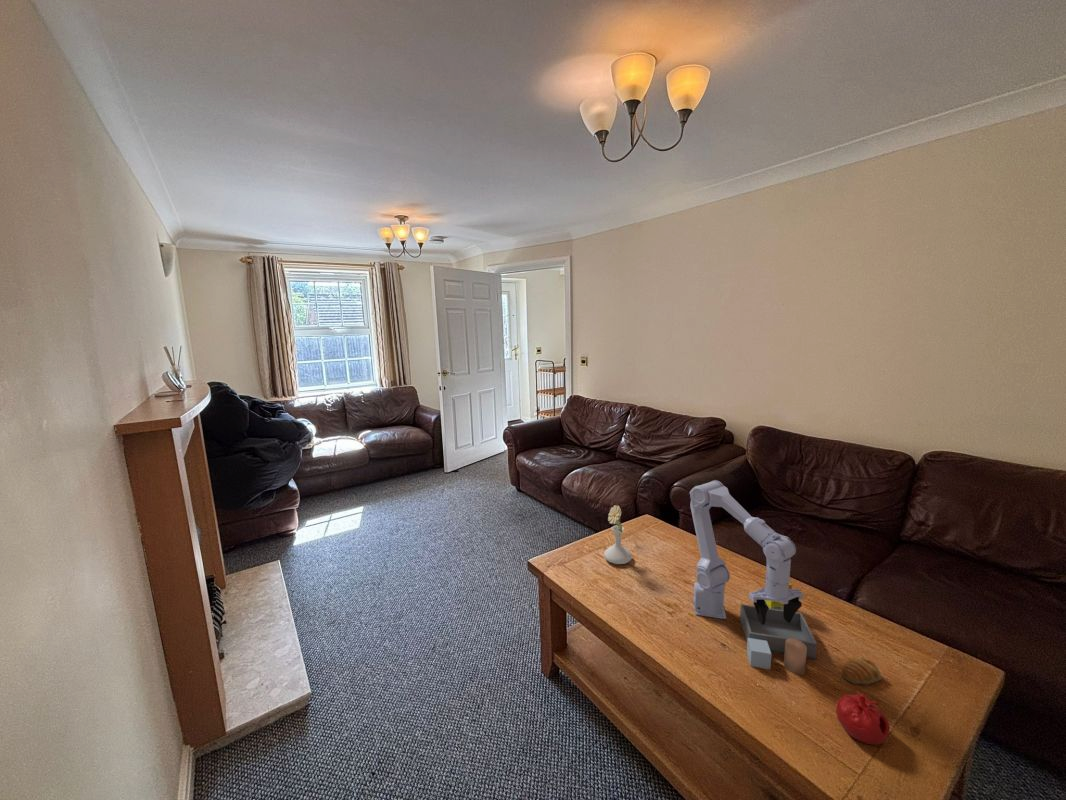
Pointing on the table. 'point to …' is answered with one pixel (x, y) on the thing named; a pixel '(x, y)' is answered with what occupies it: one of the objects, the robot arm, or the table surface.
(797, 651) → the tan rounded cylinder
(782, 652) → the charcoal tote
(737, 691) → the table surface
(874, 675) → the pastry
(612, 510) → the flower in vase
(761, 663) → the slate-blue block
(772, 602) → the supplement box
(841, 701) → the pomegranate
